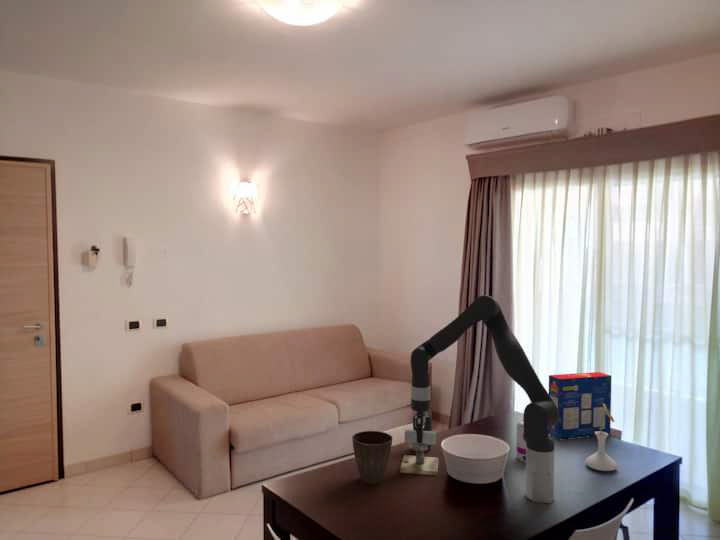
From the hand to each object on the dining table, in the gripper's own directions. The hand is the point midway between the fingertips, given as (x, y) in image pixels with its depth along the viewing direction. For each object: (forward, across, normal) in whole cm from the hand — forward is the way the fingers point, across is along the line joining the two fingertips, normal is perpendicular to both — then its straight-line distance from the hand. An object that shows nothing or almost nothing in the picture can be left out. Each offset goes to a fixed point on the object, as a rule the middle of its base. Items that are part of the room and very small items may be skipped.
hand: (420, 439), depth 207 cm
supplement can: (+11, +17, -42) cm, 47 cm away
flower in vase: (+11, +14, -70) cm, 73 cm away
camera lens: (+11, +19, 0) cm, 22 cm away
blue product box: (+11, +53, -70) cm, 89 cm away
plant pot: (+11, -16, +16) cm, 26 cm away
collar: (+4, 0, 0) cm, 4 cm away
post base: (+11, 0, 0) cm, 11 cm away
